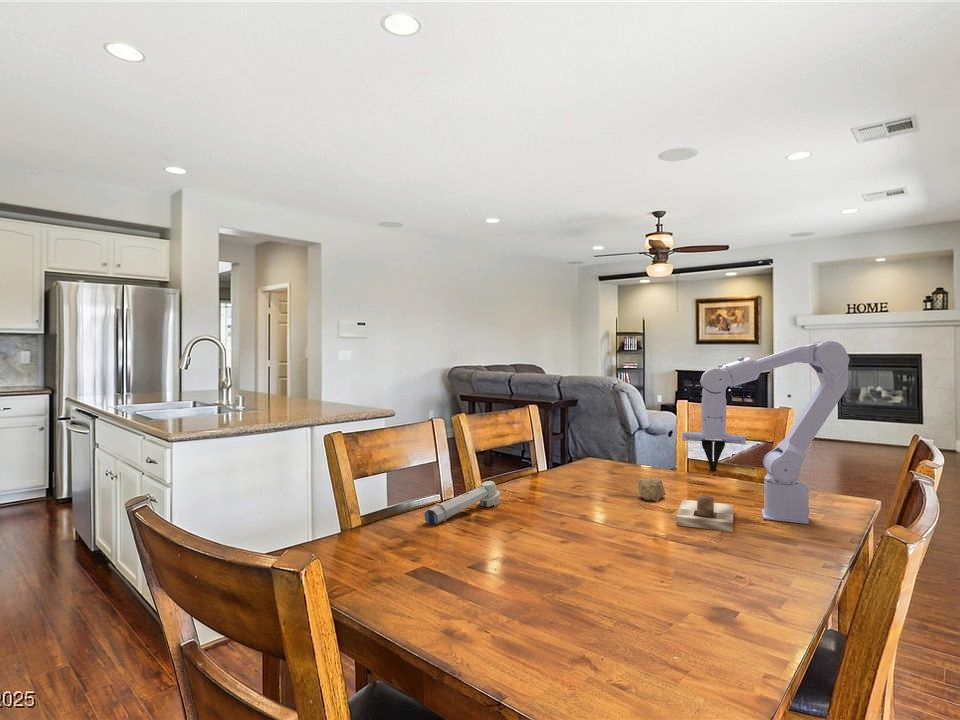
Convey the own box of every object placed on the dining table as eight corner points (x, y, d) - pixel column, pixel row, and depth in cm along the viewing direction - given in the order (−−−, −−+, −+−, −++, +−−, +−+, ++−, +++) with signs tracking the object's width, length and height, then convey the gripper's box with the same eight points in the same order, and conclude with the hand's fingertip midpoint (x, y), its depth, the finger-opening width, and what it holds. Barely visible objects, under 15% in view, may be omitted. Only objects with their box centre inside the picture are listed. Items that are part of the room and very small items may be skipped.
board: (733, 512, 139) (733, 504, 139) (732, 531, 125) (732, 523, 125) (682, 507, 144) (682, 499, 144) (676, 524, 130) (676, 516, 130)
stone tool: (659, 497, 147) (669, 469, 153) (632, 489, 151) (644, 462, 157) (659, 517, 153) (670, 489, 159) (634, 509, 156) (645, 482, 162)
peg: (713, 521, 132) (713, 496, 132) (714, 526, 129) (714, 500, 129) (696, 519, 134) (696, 494, 134) (697, 524, 130) (697, 498, 130)
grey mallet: (421, 507, 132) (487, 474, 151) (424, 533, 133) (489, 498, 152) (437, 511, 129) (502, 477, 148) (440, 538, 130) (504, 501, 149)
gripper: (745, 416, 140) (744, 470, 140) (684, 413, 146) (683, 465, 146) (746, 419, 133) (745, 476, 134) (681, 416, 139) (681, 470, 140)
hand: (713, 471), depth 139 cm, fingers closed
